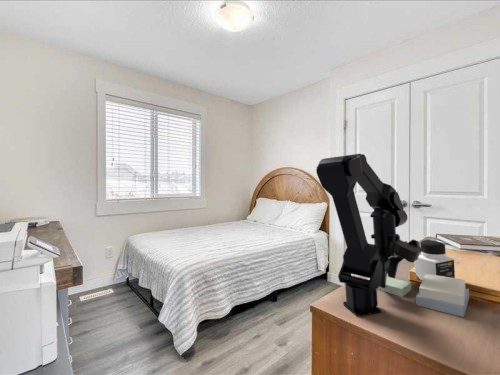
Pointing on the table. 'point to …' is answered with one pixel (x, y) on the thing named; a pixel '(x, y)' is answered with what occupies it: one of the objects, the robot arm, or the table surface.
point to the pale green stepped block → (396, 286)
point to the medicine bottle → (434, 260)
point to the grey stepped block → (443, 294)
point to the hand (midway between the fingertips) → (387, 284)
